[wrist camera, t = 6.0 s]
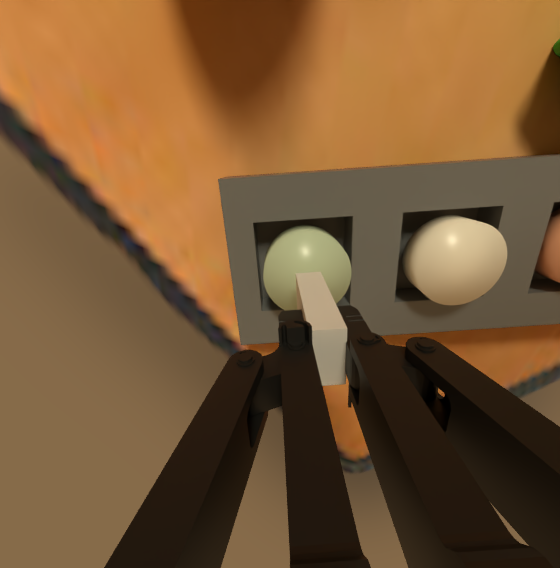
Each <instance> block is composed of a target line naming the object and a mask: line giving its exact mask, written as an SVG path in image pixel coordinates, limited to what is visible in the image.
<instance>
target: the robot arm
mask: <svg viewBox="0 0 560 568" xmlns="http://www.w3.org/2000/svg"><path fill="white" fill-rule="evenodd" d="M296 293H297V310H286V311H282V312H281V313H280V314H279V316H278V320H279V327H278V334H279V347H278V349H277V350H276V351H275V352H273V353H271V354H269V355H266V356H263V357H262V355H261V354H260V353H258V352H257V351H253V350H244V351H240V352H237V353H235V354H234V355H232V356H231V357H230V358H229V360H228V361H227V363H226V365H225V367H224V368H223V370H222V371H221V373H220V375H219V376H218V378H217V380H216V381H215V384H214V385H213V387H212V388H211V390H210V392H209V393H208V395H207V396H206V398H205V400H204V402H203V403H202V405H201V407H200V408H199V410H198V412H197V413H196V415H195V417H194V418H193V420H192V422H191V423H190V425H189V427H188V428H187V430H186V432H185V434H184V435H183V437H182V439H181V440H180V442H179V443H178V445H177V447H176V448H175V450H174V452H173V453H172V455H171V457H170V458H169V460H168V462H167V463H166V465H165V467H164V468H163V470H162V472H161V474H160V475H159V477H158V479H157V480H156V482H155V484H154V485H153V487H152V489H151V490H150V492H149V494H148V495H147V497H146V499H145V500H144V502H143V504H142V505H141V507H140V509H139V510H138V512H137V514H136V515H135V517H134V519H133V521H132V522H131V524H130V525H129V527H128V529H127V530H126V532H125V534H124V535H123V537H122V539H121V541H120V542H119V544H118V546H117V547H116V549H115V551H114V552H113V554H112V556H111V557H110V559H109V561H108V562H107V564H106V566H105V567H104V568H221V564H222V561H223V558H224V555H225V552H226V548H227V545H228V542H229V539H230V536H231V532H232V529H233V526H234V523H235V519H236V516H237V513H238V509H239V506H240V503H241V500H242V497H243V494H244V490H245V487H246V484H247V481H248V478H249V474H250V471H251V468H252V465H253V461H254V458H255V455H256V452H257V448H258V445H259V442H260V438H261V435H262V432H263V429H264V426H265V422H266V420H267V416H268V410H270V409H273V408H276V407H279V406H282V407H283V426H284V446H285V464H286V465H285V466H286V486H287V505H288V525H289V543H290V544H289V545H290V568H371V567H370V564H369V562H368V559H367V558H366V557H365V556H364V555H363V553H362V550H361V546H360V542H359V538H358V534H357V530H356V526H355V522H354V517H353V513H352V509H351V505H350V500H349V496H348V492H347V488H346V484H345V479H344V475H343V471H342V467H341V463H340V458H339V454H338V450H337V446H336V442H335V437H334V433H333V429H332V425H331V421H330V416H329V412H328V408H327V404H326V400H325V395H324V391H323V387H322V386H327V385H341V384H346V375H347V378H348V380H349V394H348V407H351V402H352V403H353V406H354V409H355V412H356V415H357V418H358V421H359V424H360V427H361V430H362V433H363V436H364V439H365V441H366V444H367V447H368V450H369V453H370V456H371V459H372V462H373V465H374V468H375V471H376V474H377V477H378V480H379V482H380V485H381V488H382V491H383V494H384V497H385V500H386V503H387V506H388V509H389V512H390V514H391V518H392V521H393V524H394V527H395V529H396V532H397V535H398V538H399V541H400V544H401V547H402V550H403V553H404V556H405V559H406V561H407V564H408V568H560V427H559V426H558V425H556V424H555V423H553V422H552V421H551V420H549V419H548V418H546V417H545V416H543V415H542V414H541V413H539V412H538V411H536V410H535V409H533V408H532V407H531V406H529V405H528V404H526V403H525V402H523V401H522V400H521V399H519V398H518V397H516V396H515V395H513V394H512V393H510V392H509V391H508V390H506V389H505V388H503V387H502V386H500V385H499V384H498V383H496V382H495V381H493V380H492V379H490V378H489V377H488V376H486V375H485V374H483V373H482V372H480V371H479V370H478V369H476V368H475V367H473V366H472V365H470V364H469V363H468V362H466V361H465V360H463V359H462V358H460V357H459V356H458V355H456V354H455V353H453V352H452V351H450V350H449V349H448V348H446V347H445V346H443V345H442V344H440V343H439V342H437V341H435V340H432V339H429V338H426V337H414V338H411V339H409V340H408V341H407V342H406V347H402V346H394V345H389V344H386V342H385V340H384V339H383V338H382V337H381V336H380V335H378V334H376V333H372V332H371V330H370V329H369V327H368V325H367V324H366V322H365V320H364V319H363V317H362V316H361V314H360V312H359V311H358V309H356V308H355V307H353V306H351V305H346V306H337V305H336V303H335V301H334V299H333V297H332V295H331V293H330V291H329V288H328V286H327V284H326V282H325V280H324V278H323V276H322V274H321V272H308V273H296ZM438 388H439V389H440V390H442V391H443V392H444V393H445V396H444V397H443V396H441V395H440V394H439V393H438ZM489 501H490V502H489ZM491 504H492V505H493V506H494V507H495V508H496V509H497V510H498V511H499V513H500V514H501V515H502V516H503V517H504V518H505V519H506V520H507V522H508V523H509V524H510V525H511V526H512V527H513V528H514V529H515V531H516V532H517V533H518V534H519V535H520V536H521V537H522V538H523V540H525V542H526V543H527V544H528V545H529V546H527V545H524V544H520V543H519V542H518V541H516V540H515V539H514V538H513V536H512V535H511V534H510V532H509V531H508V530H507V528H506V527H505V525H504V523H503V522H502V520H501V519H500V518H499V516H498V514H497V513H496V511H495V510H494V508H493V507H492V505H491Z"/></svg>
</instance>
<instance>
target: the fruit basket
mask: <svg viewBox="0 0 560 568" xmlns="http://www.w3.org/2000/svg"><path fill="white" fill-rule="evenodd" d="M553 51H554V52H555V54H556V55H558V56H559V57H560V39H559V40H558V41H557V42H556V43H555V44H554V46H553Z"/></svg>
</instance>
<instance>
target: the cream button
mask: <svg viewBox="0 0 560 568" xmlns="http://www.w3.org/2000/svg"><path fill="white" fill-rule="evenodd" d="M506 261H507V246H506V242H505V240H504V238H503V236H502V235H501V233H500V232H499V231H498V230H497V229H496V228H494V227H493V226H491V225H489V224H486V223H483V222H479V221H476V220H472V219H468V218H465V217H461V216H456V215H446V216H440V217H437V218H434V219H432V220H430V221H428V222H426V223H425V224H423V225H422V226H421V227H419V228H418V229H417V230H416V231H415V232H414V233H413V235H412V236H411V237H410V239H409V240H408V242H407V244H406V246H405V249H404V252H403V258H402V265H403V270H404V273H405V275H406V277H407V279H408V280H409V281H410V282H411V283H412V284H413V285H414V286H415V287H416V288H417V289H419V290H420V291H421V292H422V293H423V294H424V295H426V296H427V297H428V298H429V299H431V300H432V301H434V302H436V303H439V304H443V305H461V304H465V303H468V302H471V301H473V300H475V299H477V298H479V297H481V296H482V295H483V294H485V293H486V292H487V291H489V290H490V289H491V288H492V287H493V286H494V285H495V283H496V282H497V281H498V279H499V278H500V276H501V274H502V273H503V270H504V268H505V265H506Z"/></svg>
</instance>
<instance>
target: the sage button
mask: <svg viewBox="0 0 560 568" xmlns="http://www.w3.org/2000/svg"><path fill="white" fill-rule="evenodd" d="M308 272H321V274H322V276H323V278H324V280H325V282H326V284H327V286H328V288H329V291H330V293H331V295H332V297H333V299H334V301H335V303H336V304H337V303H338V302H339V301H340V300H341V299H342V297H343V296H344V295H345V293H346V291H347V289H348V287H349V284H350V280H351V264H350V260H349V257H348V255H347V253H346V252H345V250H344V249H343V247H342V246H341V245H340V244H339V243H338V241H337V240H336V239H335V238H334V237H333V236H332V235H331V234H330V233H329V232H327V231H325V230H324V229H322V228H319V227H316V226H311V225H300V226H295V227H291V228H289V229H287V230H285V231H283V232H281V233H280V234H279V235H278V236H277V237H276V238H275V239H274V240H273V241H272V242H271V244H270V246H269V247H268V249H267V252H266V255H265V262H264V272H263V279H264V285H265V288H266V291H267V293H268V295H269V296H270V298H271V299H272V300H273V302H274V303H275V304H277V305H278V306H279V307H280V308H282V309H284V310H285V311H286V310H297V293H296V273H308Z"/></svg>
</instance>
